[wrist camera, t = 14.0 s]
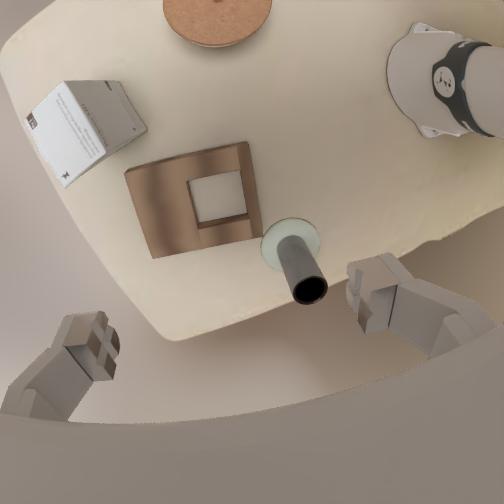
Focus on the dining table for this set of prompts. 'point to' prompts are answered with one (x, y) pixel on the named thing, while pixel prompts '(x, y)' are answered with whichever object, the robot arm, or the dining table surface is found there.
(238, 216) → the pocket board
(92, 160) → the skincare box
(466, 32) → the dining table surface
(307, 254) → the grey cylinder
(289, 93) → the dining table surface
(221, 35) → the lidded jar
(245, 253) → the dining table surface
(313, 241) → the saucer
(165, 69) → the dining table surface
